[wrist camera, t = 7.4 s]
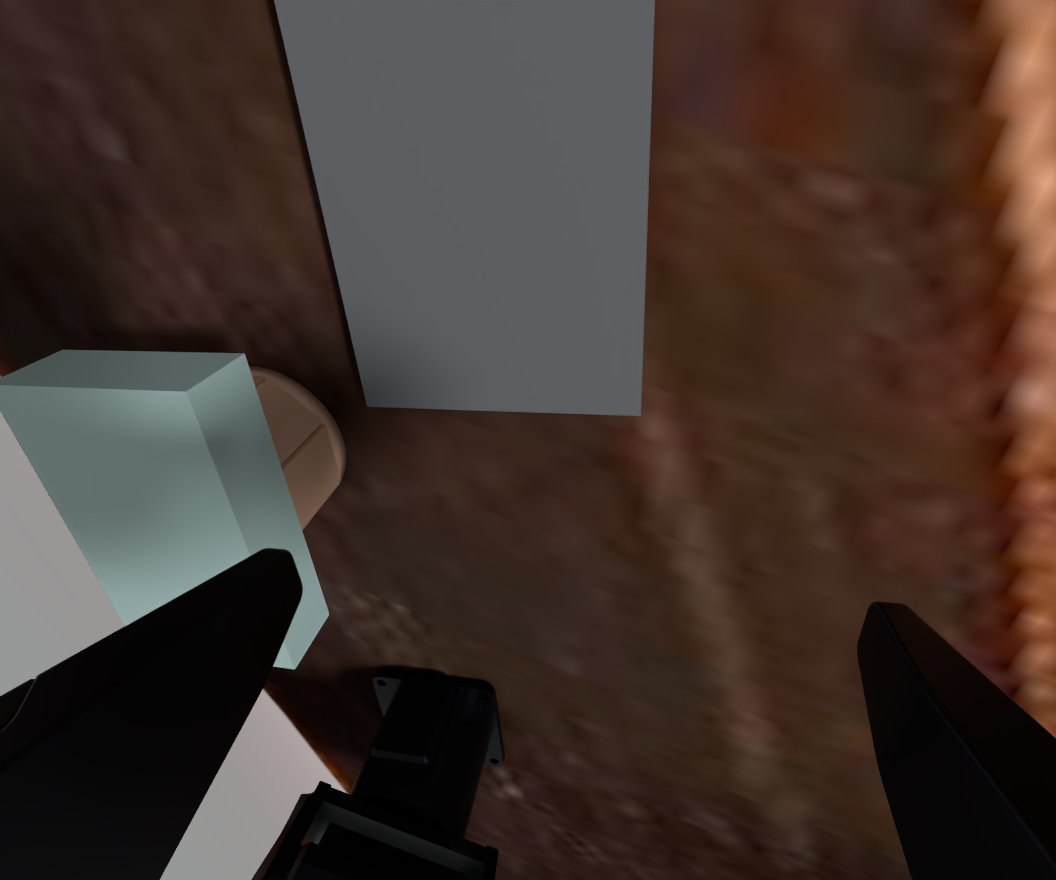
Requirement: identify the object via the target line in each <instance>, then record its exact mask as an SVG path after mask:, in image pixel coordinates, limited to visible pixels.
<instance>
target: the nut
mask: <svg viewBox="0 0 1056 880" xmlns="http://www.w3.org/2000/svg"><path fill="white" fill-rule="evenodd" d="M249 369H250V372H251V375H252V378H253V381H254V384H255V387H256V390H257V393H258V396H259V399H260V403H261V406H262V409H263V412H264V415H265V418H266V421H267V424H268V427H269V430H270V433H271V436H272V440H273V443H274V446H275V449H276V452H277V455H278V458H279V461H280V464H281V467H282V470H283V473H284V476H285V480H286V483H287V486H288V489H289V492H290V495H291V498H292V501H293V504H294V507H295V510H296V513H297V517H298V520H299V523H300V526H301V529H302V530H303V529H304V527H305V526H306V525H307V524H308V522H309V521H310V520H311V519H312V517H313V516H314V515H315V514H316V513H317V511H318V510H319V509H320V508H321V506H322V505H323V504H324V503H325V501H326V500H327V499H328V498H329V496H330V495H331V494H332V493H333V491H334V490H335V489H336V488H337V486H338V485H339V484H340V482H341V480H342V478H343V476H344V472H345V469H346V449H345V444H344V440H343V437H342V434H341V432H340V430H339V427H338V425H337V423H336V422H335V420H334V418H333V417H332V415H331V414H330V412H329V411H328V410H327V408H326V407H325V406H324V405H323V404H322V403H321V402H320V400H319V399H318V398H317V397H316V396H314V395H313V394H312V393H311V392H310V391H309V390H308V389H306V388H305V387H303V386H302V385H301V384H299V383H298V382H296V381H294V380H293V379H291V378H289V377H287V376H285V375H283V374H281V373H279V372H276V371H273V370H270V369H267V368H262V367H257V366H249Z"/></svg>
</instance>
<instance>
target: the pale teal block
mask: <svg viewBox="0 0 1056 880" xmlns="http://www.w3.org/2000/svg"><path fill="white" fill-rule="evenodd" d="M0 411H1V413H2V414H3V416H4V418H5V420H6V421H7V423H8V425H9V427H10V428H11V430H12V432H13V433H14V435H15V437H16V439H17V440H18V442H19V444H20V446H21V447H22V449H23V451H24V452H25V454H26V456H27V458H28V459H29V461H30V463H31V465H32V466H33V468H34V470H35V472H36V473H37V475H38V477H39V478H40V480H41V482H42V483H43V485H44V487H45V489H46V490H47V492H48V494H49V496H50V497H51V499H52V501H53V503H54V504H55V506H56V508H57V509H58V511H59V513H60V515H61V517H62V518H63V520H64V522H65V523H66V525H67V527H68V529H69V530H70V532H71V534H72V536H73V537H74V539H75V541H76V542H77V544H78V546H79V548H80V549H81V551H82V553H83V555H84V556H85V558H86V560H87V561H88V563H89V565H90V567H91V569H92V570H93V572H94V573H95V575H96V577H97V579H98V581H99V582H100V584H101V586H102V588H103V589H104V591H105V593H106V594H107V596H108V598H109V600H110V601H111V603H112V605H113V607H114V608H115V610H116V612H117V614H118V615H119V617H120V619H121V620H122V622H123V624H124V626H126V625H128V624H130V623H132V622H134V621H135V620H137V619H139V618H141V617H142V616H144V615H146V614H148V613H150V612H151V611H153V610H155V609H157V608H158V607H160V606H162V605H164V604H166V603H167V602H169V601H171V600H173V599H174V598H176V597H178V596H180V595H182V594H183V593H185V592H187V591H189V590H191V589H192V588H194V587H196V586H198V585H199V584H201V583H203V582H205V581H207V580H208V579H210V578H212V577H214V576H215V575H217V574H219V573H221V572H223V571H224V570H226V569H228V568H230V567H231V566H233V565H235V564H237V563H239V562H240V561H242V560H244V559H246V558H247V557H249V556H251V555H253V554H255V553H256V552H258V551H260V550H262V549H265V548H276V549H286V550H288V551H289V552H290V553H291V554H292V556H293V558H294V561H295V564H296V567H297V570H298V573H299V576H300V578H301V581H302V585H303V594H302V598H301V601H300V604H299V606H298V608H297V611H296V613H295V615H294V618H293V620H292V623H291V625H290V627H289V630H288V632H287V635H286V637H285V639H284V642H283V644H282V646H281V649H280V651H279V654H278V656H277V658H276V661H275V663H274V666H273V667H280V668H288V669H295V668H296V667H297V665H298V664H299V662H300V660H301V659H302V657H303V656H304V654H305V652H306V651H307V649H308V648H309V646H310V644H311V643H312V641H313V640H314V638H315V636H316V635H317V633H318V632H319V630H320V629H321V627H322V625H323V624H324V622H325V621H326V619H327V617H328V616H329V612H328V609H327V606H326V603H325V600H324V597H323V594H322V590H321V587H320V584H319V581H318V578H317V575H316V572H315V569H314V566H313V563H312V560H311V557H310V553H309V550H308V547H307V544H306V541H305V538H304V535H303V532H302V529H301V526H300V523H299V520H298V517H297V513H296V510H295V507H294V504H293V501H292V498H291V495H290V492H289V489H288V486H287V483H286V480H285V476H284V473H283V470H282V467H281V464H280V461H279V458H278V455H277V452H276V449H275V446H274V443H273V440H272V436H271V433H270V430H269V427H268V424H267V421H266V418H265V415H264V412H263V409H262V406H261V403H260V399H259V396H258V393H257V390H256V387H255V384H254V381H253V378H252V375H251V372H250V369H249V366H248V362H247V359H246V356H245V353H200V352H150V351H100V350H61V351H59V352H57V353H54V354H52V355H50V356H48V357H45V358H43V359H41V360H39V361H37V362H34V363H32V364H30V365H28V366H26V367H23V368H21V369H19V370H17V371H14V372H12V373H10V374H8V375H6V376H3V377H1V378H0Z"/></svg>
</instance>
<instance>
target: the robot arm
mask: <svg viewBox="0 0 1056 880" xmlns="http://www.w3.org/2000/svg"><path fill="white" fill-rule="evenodd" d="M302 594H303V585H302V581H301V578H300V576H299V573H298V570H297V567H296V564H295V561H294V558H293V556H292V554H291V553H290V552H289V551H288V550H286V549H276V548H265V549H262V550H260V551H258V552H256V553H255V554H253V555H251V556H249V557H247V558H246V559H244V560H242V561H240V562H239V563H237V564H235V565H233V566H231V567H230V568H228V569H226V570H224V571H223V572H221V573H219V574H217V575H215V576H214V577H212V578H210V579H208V580H207V581H205V582H203V583H201V584H199V585H198V586H196V587H194V588H192V589H191V590H189V591H187V592H185V593H183V594H182V595H180V596H178V597H176V598H174V599H173V600H171V601H169V602H167V603H166V604H164V605H162V606H160V607H158V608H157V609H155V610H153V611H151V612H150V613H148V614H146V615H144V616H142V617H141V618H139V619H137V620H135V621H134V622H132V623H130V624H128V625H126V626H125V627H123V628H122V629H119V630H118V631H116V632H114V633H112V634H110V635H109V636H107V637H105V638H103V639H102V640H100V641H98V642H96V643H94V644H93V645H91V646H89V647H87V648H85V649H84V650H82V651H80V652H78V653H77V654H75V655H73V656H71V657H69V658H68V659H66V660H64V661H62V662H61V663H59V664H57V665H55V666H53V667H52V668H50V669H48V670H46V671H45V672H43V673H41V674H39V675H38V676H37V677H36V678H35V679H30V680H28V681H27V682H25V683H23V684H21V685H19V686H18V687H16V688H14V689H12V690H11V691H9V692H7V693H6V694H4V695H2V696H0V880H160V878H161V876H162V874H163V872H164V870H165V868H166V867H167V865H168V863H169V861H170V859H171V858H172V856H173V854H174V852H175V850H176V848H177V846H178V845H179V843H180V841H181V839H182V837H183V835H184V833H185V832H186V830H187V828H188V826H189V824H190V822H191V821H192V819H193V817H194V815H195V813H196V811H197V809H198V808H199V806H200V804H201V802H202V800H203V798H204V796H205V795H206V793H207V791H208V789H209V787H210V785H211V784H212V782H213V780H214V778H215V776H216V774H217V772H218V771H219V769H220V767H221V765H222V763H223V761H224V760H225V758H226V756H227V754H228V752H229V750H230V748H231V747H232V745H233V743H234V741H235V739H236V737H237V735H238V734H239V732H240V730H241V728H242V726H243V724H244V723H245V721H246V719H247V717H248V715H249V713H250V711H251V710H252V708H253V706H254V704H255V702H256V700H257V698H258V697H259V695H260V693H261V691H262V689H263V687H264V685H265V683H266V681H267V679H268V677H269V674H270V672H271V670H272V668H273V666H274V663H275V661H276V658H277V656H278V654H279V651H280V649H281V646H282V644H283V642H284V639H285V637H286V635H287V632H288V630H289V627H290V625H291V623H292V620H293V618H294V615H295V613H296V611H297V608H298V606H299V604H300V601H301V598H302ZM857 656H858V662H859V668H860V673H861V679H862V684H863V690H864V695H865V701H866V706H867V712H868V717H869V722H870V728H871V733H872V739H873V744H874V749H875V754H876V759H877V764H878V768H879V772H880V775H881V779H882V783H883V786H884V789H885V793H886V796H887V799H888V802H889V806H890V809H891V812H892V816H893V819H894V822H895V825H896V829H897V832H898V835H899V839H900V842H901V845H902V849H903V852H904V855H905V858H906V862H907V865H908V868H909V872H910V875H911V878H912V880H1056V738H1055V737H1054V736H1053V735H1052V734H1051V733H1049V732H1048V731H1047V730H1046V729H1045V728H1044V727H1043V726H1042V725H1040V724H1039V723H1038V722H1037V721H1036V720H1035V719H1034V718H1033V717H1032V716H1030V715H1029V714H1028V713H1027V712H1026V711H1025V710H1024V709H1023V708H1021V707H1020V706H1019V705H1018V704H1017V703H1016V702H1015V701H1014V700H1012V699H1011V698H1010V697H1009V696H1008V695H1007V694H1006V693H1005V692H1003V691H1002V690H1001V689H1000V688H999V687H998V686H997V685H996V684H995V683H993V682H992V681H991V680H990V679H989V678H988V677H987V676H986V675H984V674H983V673H982V672H981V671H980V670H979V669H978V668H977V667H975V666H974V665H973V664H972V663H971V662H970V661H969V660H968V659H967V658H965V657H964V656H963V655H962V654H961V653H960V652H959V651H958V650H956V649H955V648H954V647H953V646H952V645H951V644H950V643H949V642H947V641H946V640H945V639H944V638H943V637H942V636H941V635H940V634H938V633H937V632H936V631H935V630H934V629H933V628H932V627H931V626H930V625H928V624H927V623H926V622H925V621H924V620H923V619H922V618H921V617H919V616H918V615H917V614H916V613H915V612H914V611H913V610H912V609H910V608H909V607H908V606H906V605H904V604H900V603H889V602H873V603H871V605H870V606H869V608H868V610H867V614H866V617H865V620H864V623H863V627H862V630H861V633H860V636H859V639H858V645H857ZM373 685H374V688H375V691H376V695H377V698H378V701H379V705H380V708H381V711H382V714H383V720H382V722H381V725H380V727H379V729H378V731H377V734H376V736H375V738H374V741H373V743H372V745H371V747H370V750H369V752H368V754H367V756H366V759H365V761H364V763H363V766H362V768H361V770H360V772H359V775H358V777H357V779H356V781H355V784H354V786H353V788H352V790H351V793H350V794H347V793H344V792H342V791H339V790H337V789H334V788H331V785H330V784H327V783H325V782H322V781H320V782H319V784H318V786H317V788H316V790H315V791H314V792H313V793H310V794H301V796H300V798H299V800H298V802H297V804H296V806H295V808H294V810H293V812H292V814H291V816H290V817H289V819H288V821H287V823H286V825H285V827H284V829H283V831H282V833H281V834H280V836H279V837H278V839H277V841H276V842H275V844H274V845H273V847H272V848H271V850H270V852H269V853H268V855H267V856H266V858H265V859H264V861H263V862H262V864H261V866H260V867H259V869H258V870H257V872H256V873H255V875H254V876H253V878H252V880H495V873H496V865H497V858H498V849H496V848H493V847H491V846H488V845H487V846H486V847H484V846H482V845H479V844H477V843H474V842H471V841H469V840H466V839H464V837H465V833H466V830H467V826H468V822H469V818H470V815H471V811H472V807H473V803H474V799H475V796H476V792H477V788H478V784H479V781H480V777H481V773H482V769H483V765H489V766H495V767H499V766H502V765H503V761H504V757H505V754H504V747H503V740H502V733H501V726H500V720H499V713H498V706H497V699H496V692H495V689H494V688H493V687H492V686H491V685H489V684H485V683H478V682H470V681H462V680H455V679H447V678H439V677H431V676H423V675H416V674H408V673H400V672H392V671H384V670H379V671H377V672H376V674H375V676H374V678H373Z"/></svg>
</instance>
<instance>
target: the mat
mask: <svg viewBox="0 0 1056 880" xmlns="http://www.w3.org/2000/svg"><path fill="white" fill-rule="evenodd" d="M274 2H275V7H276V11H277V15H278V20H279V24H280V28H281V33H282V37H283V42H284V46H285V50H286V55H287V59H288V63H289V68H290V72H291V77H292V81H293V85H294V90H295V94H296V98H297V103H298V107H299V112H300V116H301V120H302V125H303V129H304V133H305V138H306V142H307V147H308V151H309V155H310V160H311V164H312V168H313V173H314V177H315V182H316V186H317V190H318V195H319V199H320V203H321V208H322V212H323V216H324V221H325V225H326V230H327V234H328V238H329V243H330V247H331V251H332V256H333V260H334V265H335V269H336V273H337V278H338V282H339V286H340V291H341V295H342V300H343V304H344V308H345V313H346V317H347V321H348V326H349V330H350V335H351V339H352V343H353V348H354V352H355V356H356V361H357V365H358V370H359V374H360V378H361V383H362V387H363V391H364V396H365V400H366V404H367V407H390V408H420V409H450V410H480V411H509V412H539V413H569V414H598V415H628V416H641V399H642V369H643V339H644V310H645V280H646V250H647V220H648V191H649V161H650V131H651V102H652V72H653V42H654V13H655V0H274Z"/></svg>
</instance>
